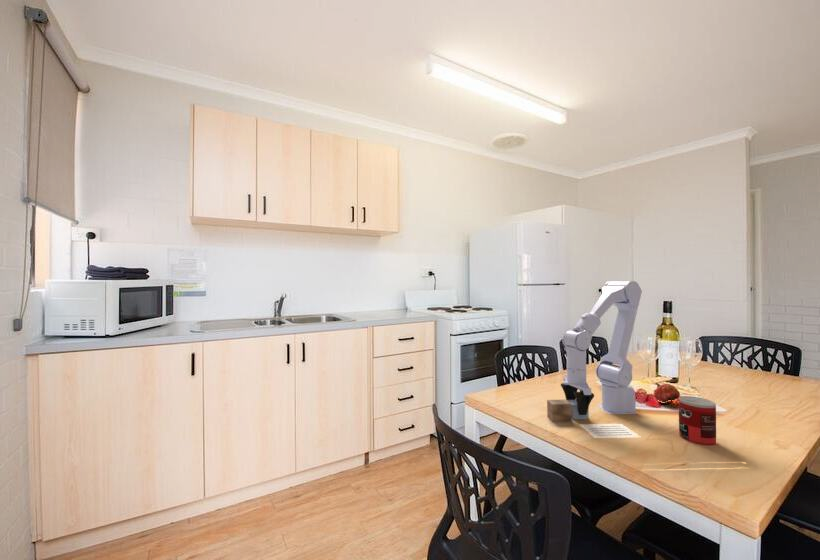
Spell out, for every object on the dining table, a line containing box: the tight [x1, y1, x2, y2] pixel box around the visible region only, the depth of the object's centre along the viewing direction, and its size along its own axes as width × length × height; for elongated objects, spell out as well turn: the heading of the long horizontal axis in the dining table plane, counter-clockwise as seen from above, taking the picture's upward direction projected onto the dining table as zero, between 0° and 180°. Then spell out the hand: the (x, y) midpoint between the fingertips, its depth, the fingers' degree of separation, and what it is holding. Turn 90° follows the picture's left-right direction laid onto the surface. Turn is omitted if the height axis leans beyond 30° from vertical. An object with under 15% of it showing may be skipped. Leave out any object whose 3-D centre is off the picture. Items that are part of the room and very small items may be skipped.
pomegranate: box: [653, 382, 681, 403], centre depth 124 cm, size 7×7×10 cm
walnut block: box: [546, 399, 573, 423], centre depth 111 cm, size 6×4×6 cm, turn 91°
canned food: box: [678, 395, 717, 446], centre depth 97 cm, size 8×8×11 cm
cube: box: [567, 400, 590, 420], centre depth 113 cm, size 5×5×5 cm
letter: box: [579, 423, 641, 439], centre depth 103 cm, size 13×9×1 cm
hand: (576, 410), depth 113 cm, fingers open, 7 cm apart
